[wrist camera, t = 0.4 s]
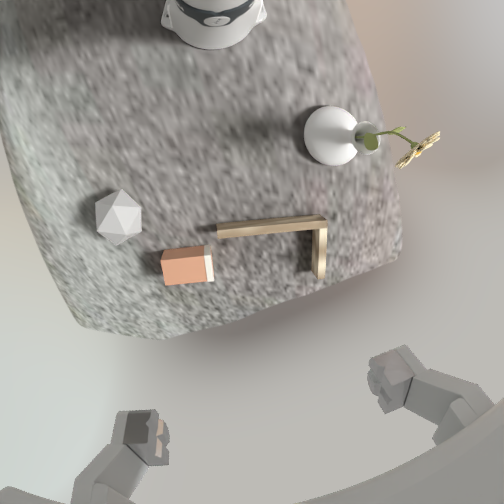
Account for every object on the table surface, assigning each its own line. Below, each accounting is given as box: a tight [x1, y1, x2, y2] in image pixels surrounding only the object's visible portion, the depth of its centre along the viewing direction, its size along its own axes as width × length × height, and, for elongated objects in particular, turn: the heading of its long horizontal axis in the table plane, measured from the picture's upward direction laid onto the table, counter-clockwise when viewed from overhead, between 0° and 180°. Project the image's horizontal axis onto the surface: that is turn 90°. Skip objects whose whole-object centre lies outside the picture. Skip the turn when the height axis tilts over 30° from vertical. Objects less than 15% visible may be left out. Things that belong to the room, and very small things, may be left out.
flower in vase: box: [304, 106, 440, 169], centre depth 38 cm, size 13×11×25 cm
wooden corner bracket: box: [216, 214, 327, 279], centre depth 55 cm, size 12×20×4 cm, turn 94°
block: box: [161, 245, 214, 285], centre depth 53 cm, size 5×9×5 cm, turn 94°
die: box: [95, 188, 141, 245], centre depth 46 cm, size 8×9×10 cm
